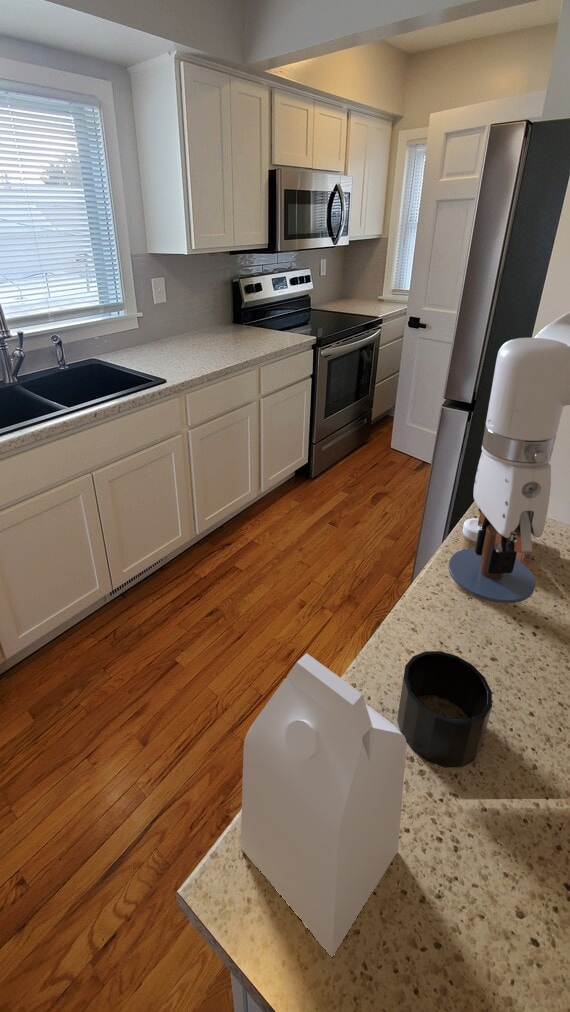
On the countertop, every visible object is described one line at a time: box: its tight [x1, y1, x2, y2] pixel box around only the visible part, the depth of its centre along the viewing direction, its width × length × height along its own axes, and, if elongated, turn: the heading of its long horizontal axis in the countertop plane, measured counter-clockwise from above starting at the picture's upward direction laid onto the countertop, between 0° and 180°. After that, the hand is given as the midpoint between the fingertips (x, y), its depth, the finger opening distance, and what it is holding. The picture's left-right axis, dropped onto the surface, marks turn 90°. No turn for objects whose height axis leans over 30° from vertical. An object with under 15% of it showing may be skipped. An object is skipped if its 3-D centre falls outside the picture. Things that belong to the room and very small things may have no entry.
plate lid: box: [448, 524, 536, 604], centre depth 66 cm, size 11×11×8 cm
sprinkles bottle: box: [452, 517, 482, 595], centre depth 83 cm, size 5×5×13 cm
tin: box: [396, 650, 493, 769], centre depth 61 cm, size 10×10×8 cm
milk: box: [239, 652, 407, 958], centre depth 46 cm, size 12×12×26 cm
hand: (493, 561), depth 66 cm, fingers closed on plate lid, 3 cm apart
